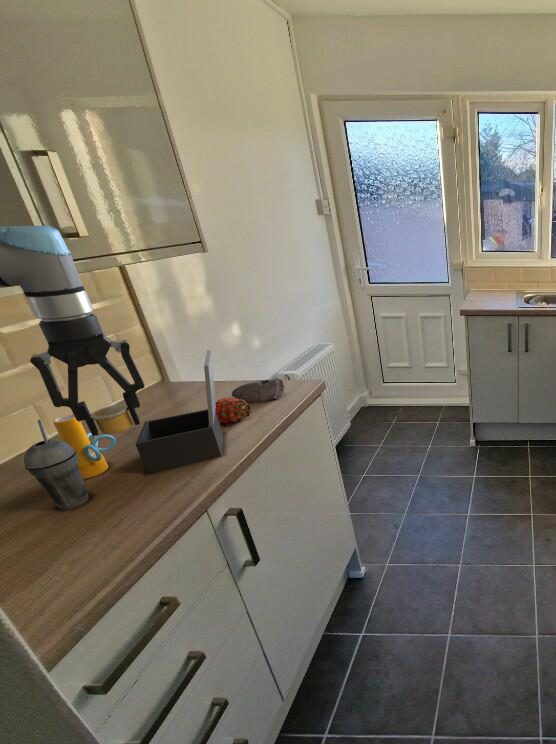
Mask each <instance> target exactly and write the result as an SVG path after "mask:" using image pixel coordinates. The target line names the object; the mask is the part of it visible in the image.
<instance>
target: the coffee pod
mask: <svg viewBox="0 0 556 744" xmlns="http://www.w3.org/2000/svg"><path fill="white" fill-rule="evenodd" d="M128 412H129V409H128V407H127V405H126V404H114V405H109V406H105V407H102V408H100V409H97V410H95V411H93V412H92V413H90V414H91V415H90V418H91V419H92V420H94V421H95V423H96V424H97V426H98V428H99V430H100V432H101V434H102V435H113V434H117V433H121V432H123V431H126V430H128V429H131V427H133V425H134V424H133V423H134V422H133V420H132V419H131V416H130V415H129V413H128Z"/></svg>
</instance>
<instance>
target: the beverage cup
mask: <svg viewBox="0 0 556 744" xmlns="http://www.w3.org/2000/svg"><path fill="white" fill-rule="evenodd" d="M36 421H37V424H38V427H39V430H40V433H41V436H42V439H43V440H40V441H38V442H36V443H34V444H32V445H31V446H30V447H29V448H28V449H27V450H26V452H25V453H24V455H23V464H24V468H25V470H26V471H28V472H29V473H30V475H32V476H33V477H34V478H35V479H36V480H37V482H38V483H39V485H40V486H41V487H42V489H43V490H44V491H45V493H46V494H47V495H48V497H49V498H50V499H51V500H52V502H53V504H54V505H55V507H57V508H58V509H59V510H62V511H63V510H65V511H66V510H71V509H75V508H77V507H79V506H81V505H84V504H85V503H86V502H87V501H88V500H89V499H90V498H89V492H88V489H87V486H86V484H85V481H84V479H83V478H82V475H81V472H80V469H79V467H78V464H77V462H78V461H77V456H76V452H75V450H73V449H72V447H71V446H70V445H68V444H67V443H65V442H62V440H58V439H48V436H47V433H46V430H45V428H44V424H43V422H42V419H37V420H36Z"/></svg>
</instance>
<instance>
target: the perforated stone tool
mask: <svg viewBox="0 0 556 744" xmlns="http://www.w3.org/2000/svg"><path fill="white" fill-rule="evenodd" d="M284 392H285V385H284V381H283V379H281V378H271V379H262V380H257V381H253V382H252V381H251V382H249V383H245V384H242V385H239V386H238V387H236V388H234V389H233V390H232V391H231V397H235V398H238V399H242V400H244V401H246V402H247V404H251V403H261V402H270V401H271V400H278V399H280V398H281V397H282V396H283V394H284Z"/></svg>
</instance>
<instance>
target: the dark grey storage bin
mask: <svg viewBox="0 0 556 744" xmlns="http://www.w3.org/2000/svg"><path fill="white" fill-rule="evenodd" d="M223 436H224V433H223V431H222V427H221V423H219V421H218V418H217V415H216V411H215V418H214V426H209V416H208V408H207V409H203V410H196V411H192V412H191V411H190V412H186V413H182V414H177V415H172V416H167V417H161V418H156V419H150V420H146V421H144V423H143V425H142V427H141V430H140V432H139V435H138V437H137V439H136V442H135V447H136V450H137V451H138V454H139V457H140V458H141V461H142V464H143V466H144V468H145V471H146V473H147V475H151V474H154V473H158V472H161V471H166V470H169V469H170V470H171V469H174V468H179V467H182V466H186V465H191V464H195V463H199V462H203V461H207V460H211V459H215V458H220V457H222V456H223V455H222V454H223V440H224V439H223V438H224V437H223Z"/></svg>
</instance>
